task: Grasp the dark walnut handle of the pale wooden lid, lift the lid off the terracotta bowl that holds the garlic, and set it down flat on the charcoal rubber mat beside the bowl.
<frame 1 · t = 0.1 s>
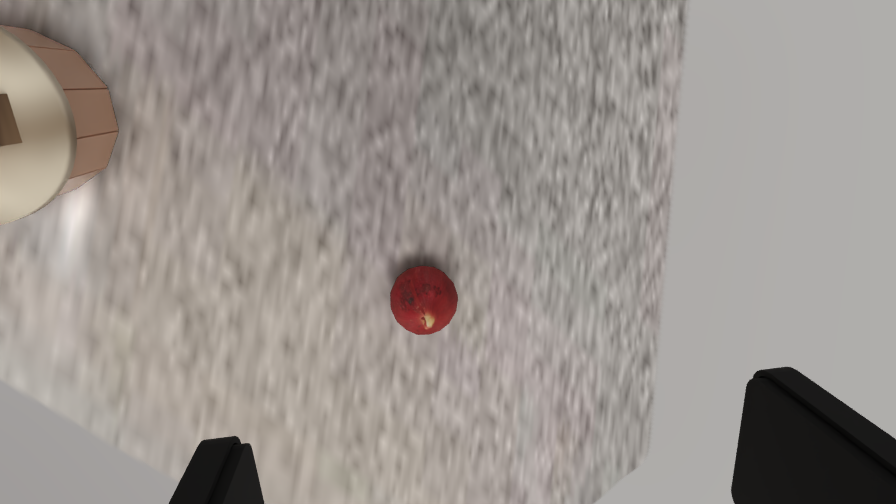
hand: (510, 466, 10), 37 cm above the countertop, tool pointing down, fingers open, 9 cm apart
bowl: (31, 114, 39), on the countertop
onion: (420, 283, 48), on the countertop
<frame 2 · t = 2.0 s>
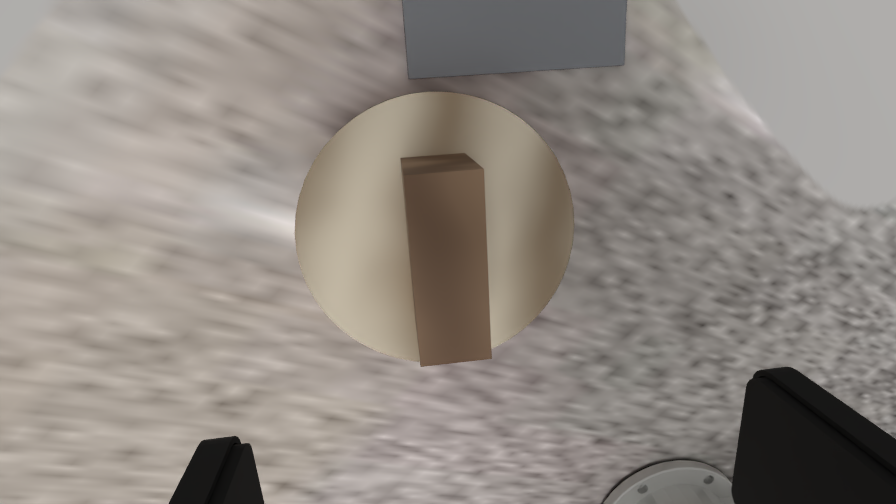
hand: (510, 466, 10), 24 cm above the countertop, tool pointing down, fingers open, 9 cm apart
lid: (436, 231, 26), point 7 cm above the countertop, touching bowl
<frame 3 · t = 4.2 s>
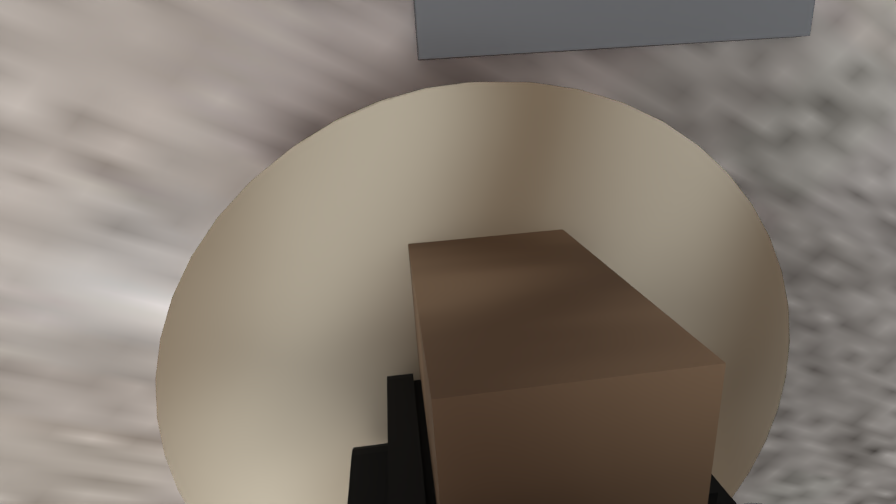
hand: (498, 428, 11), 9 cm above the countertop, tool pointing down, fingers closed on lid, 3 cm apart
lid: (483, 382, 12), point 7 cm above the countertop, touching gripper
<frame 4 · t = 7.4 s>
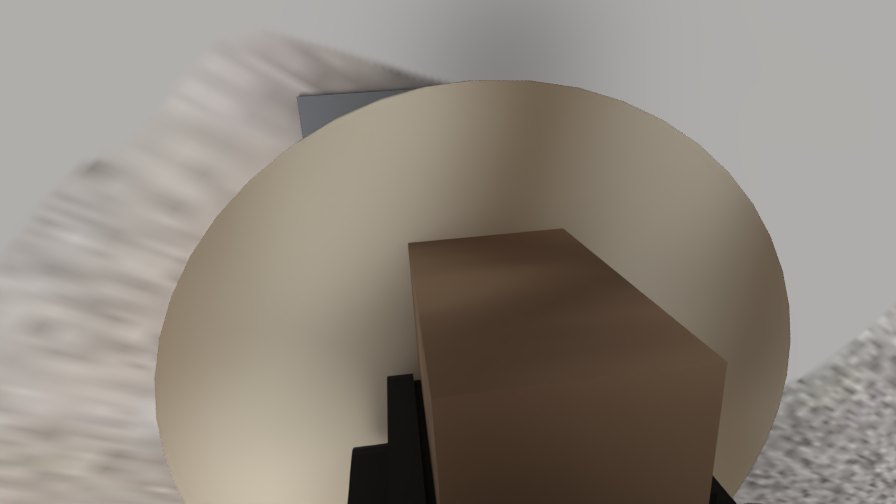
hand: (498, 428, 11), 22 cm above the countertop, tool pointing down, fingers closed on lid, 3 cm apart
lid: (483, 382, 12), point 20 cm above the countertop, touching gripper
mat: (422, 199, 31), on the countertop
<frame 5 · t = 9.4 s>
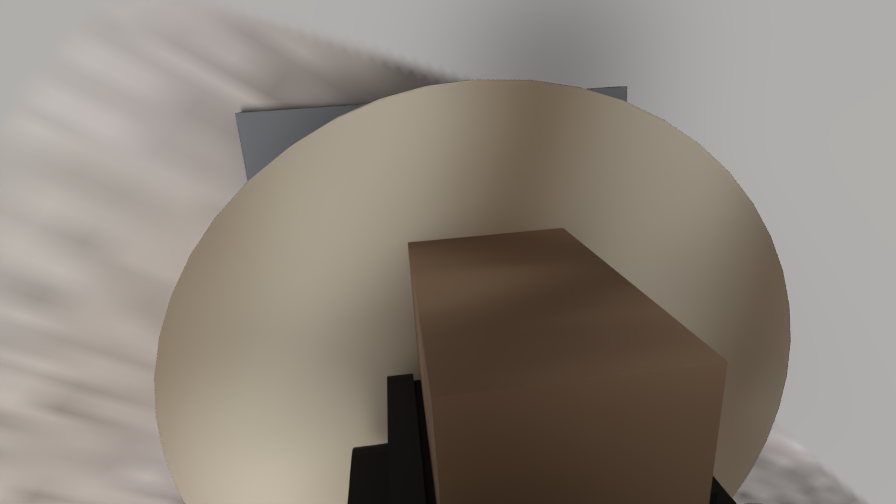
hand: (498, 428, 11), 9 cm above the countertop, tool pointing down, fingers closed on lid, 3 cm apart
lid: (483, 381, 12), point 8 cm above the countertop, touching gripper
mat: (448, 276, 19), on the countertop
when the fingers open (4 cm above the countertop, at t = 10.9 s): lid drops 2 cm, resting on mat.
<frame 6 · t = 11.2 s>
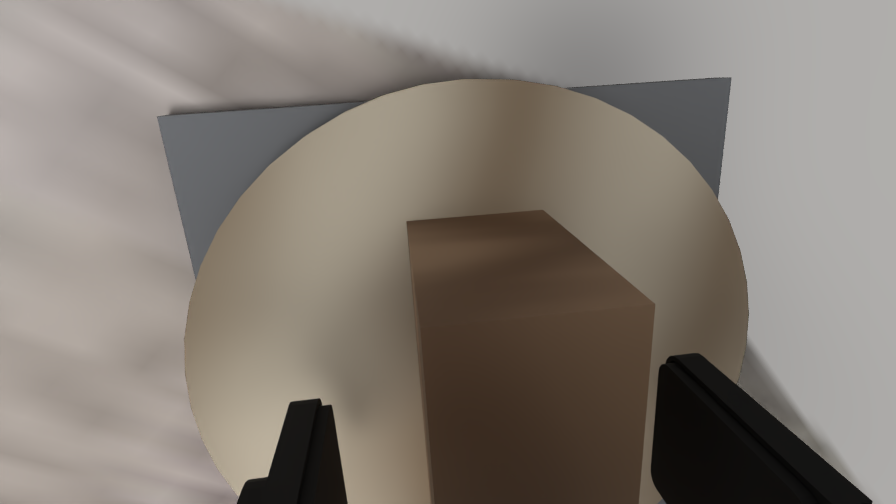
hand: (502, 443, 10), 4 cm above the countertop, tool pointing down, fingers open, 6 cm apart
lid: (473, 350, 14), point 1 cm above the countertop, touching mat
mat: (469, 340, 14), on the countertop
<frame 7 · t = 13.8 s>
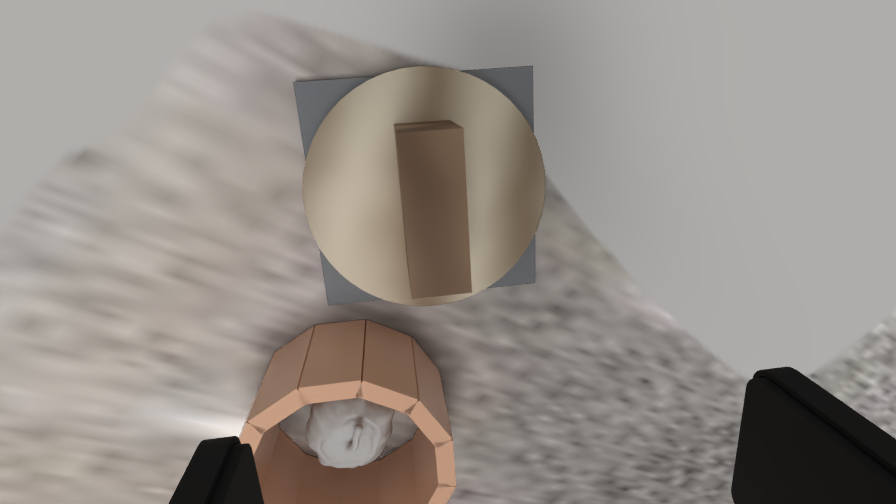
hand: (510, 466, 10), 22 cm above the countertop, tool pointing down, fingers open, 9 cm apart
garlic: (352, 399, 35), resting in bowl
lid: (425, 190, 30), point 1 cm above the countertop, touching mat
bowl: (352, 402, 34), on the countertop
mat: (424, 189, 30), on the countertop
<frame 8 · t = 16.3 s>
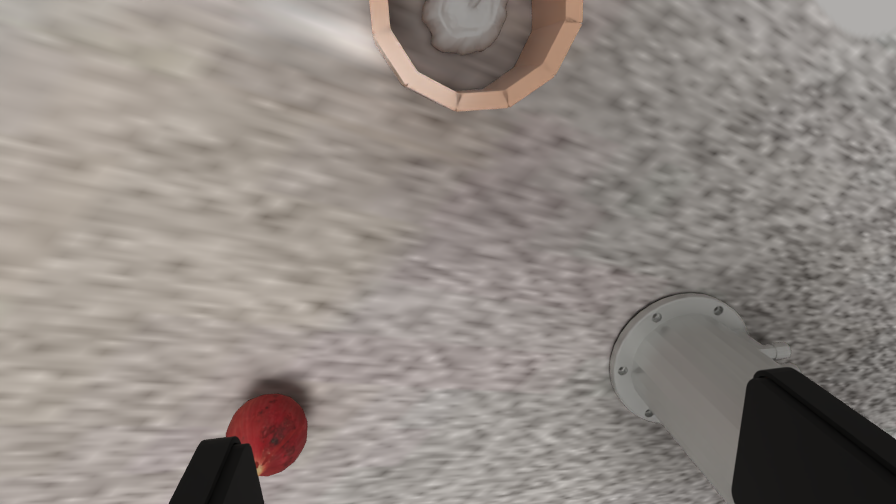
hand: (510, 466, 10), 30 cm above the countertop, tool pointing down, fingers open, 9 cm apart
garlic: (459, 14, 35), resting in bowl
bowl: (460, 13, 35), on the countertop
onion: (278, 403, 43), on the countertop
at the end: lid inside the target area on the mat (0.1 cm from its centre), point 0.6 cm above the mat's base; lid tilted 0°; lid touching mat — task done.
